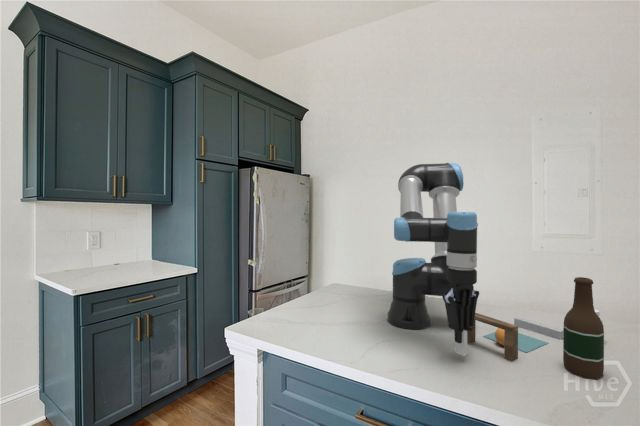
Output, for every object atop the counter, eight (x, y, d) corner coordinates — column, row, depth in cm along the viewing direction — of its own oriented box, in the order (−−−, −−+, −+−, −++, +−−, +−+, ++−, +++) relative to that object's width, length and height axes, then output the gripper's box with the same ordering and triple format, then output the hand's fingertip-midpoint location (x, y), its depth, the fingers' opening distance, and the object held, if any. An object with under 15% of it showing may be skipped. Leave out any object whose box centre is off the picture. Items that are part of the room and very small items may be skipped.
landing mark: (483, 336, 98) (483, 336, 98) (505, 329, 104) (505, 328, 104) (526, 352, 87) (526, 352, 87) (548, 343, 93) (548, 342, 93)
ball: (493, 322, 93) (503, 326, 96) (489, 339, 92) (499, 343, 95) (511, 329, 88) (521, 333, 91) (506, 347, 88) (517, 351, 90)
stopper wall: (514, 325, 108) (514, 318, 108) (517, 324, 109) (517, 317, 109) (560, 339, 96) (560, 331, 96) (563, 338, 97) (563, 330, 97)
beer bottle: (555, 364, 80) (556, 275, 80) (582, 363, 81) (582, 274, 81) (583, 381, 72) (584, 282, 72) (612, 379, 73) (613, 281, 73)
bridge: (511, 361, 82) (512, 327, 82) (463, 341, 94) (463, 312, 94) (517, 358, 83) (518, 325, 83) (469, 339, 96) (469, 310, 96)
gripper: (458, 272, 76) (457, 365, 76) (489, 267, 82) (488, 353, 82) (434, 267, 82) (433, 353, 82) (464, 263, 89) (463, 343, 89)
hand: (461, 353), depth 82 cm, fingers closed
